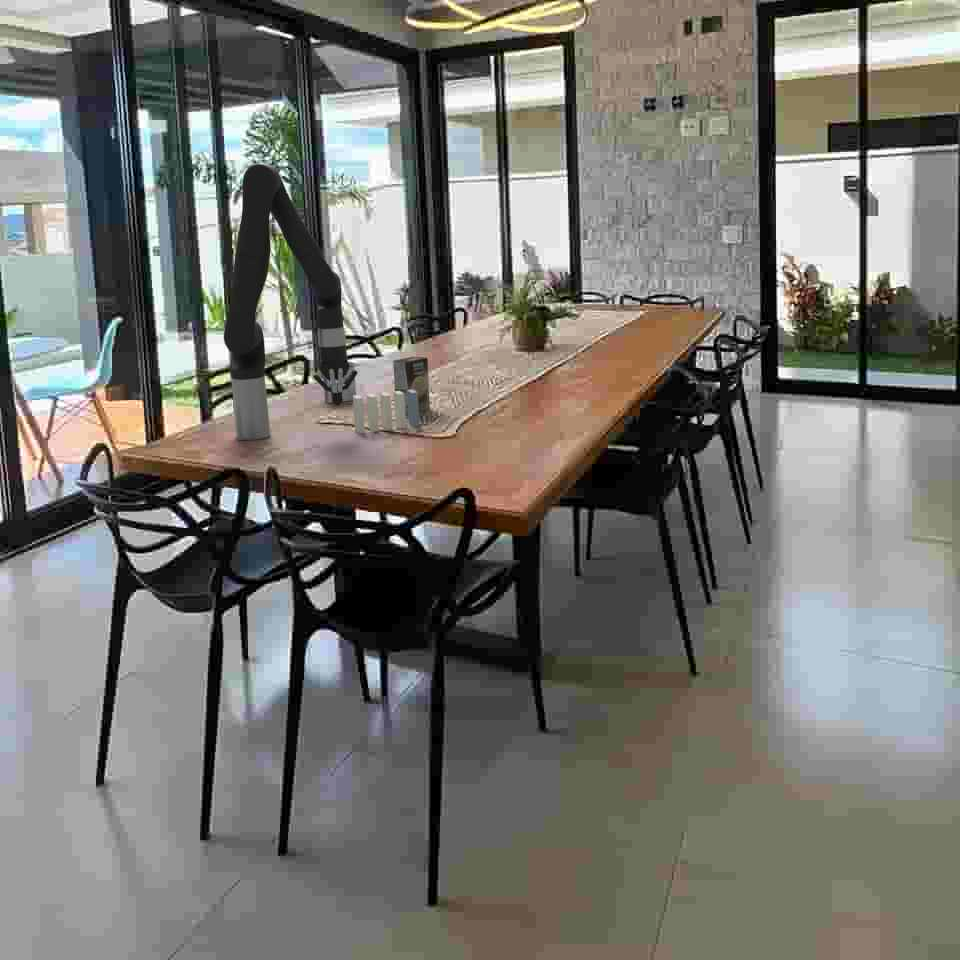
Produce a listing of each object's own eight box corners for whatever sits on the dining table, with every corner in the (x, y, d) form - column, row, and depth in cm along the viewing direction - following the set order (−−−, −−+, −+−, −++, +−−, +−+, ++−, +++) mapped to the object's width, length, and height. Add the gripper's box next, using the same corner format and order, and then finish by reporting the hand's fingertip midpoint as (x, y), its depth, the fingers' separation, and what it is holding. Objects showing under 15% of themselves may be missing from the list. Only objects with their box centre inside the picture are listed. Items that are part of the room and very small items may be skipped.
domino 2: (372, 431, 311) (370, 397, 309) (368, 428, 316) (366, 394, 313) (378, 431, 312) (376, 396, 309) (375, 427, 316) (372, 393, 314)
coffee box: (410, 414, 332) (407, 362, 327) (395, 412, 336) (392, 360, 331) (430, 409, 339) (428, 357, 334) (415, 407, 343) (412, 356, 338)
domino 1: (358, 433, 310) (356, 398, 307) (355, 429, 315) (352, 395, 312) (365, 432, 311) (362, 398, 308) (361, 429, 315) (358, 395, 313)
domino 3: (386, 430, 312) (384, 395, 310) (382, 426, 317) (380, 392, 314) (392, 429, 313) (390, 395, 310) (388, 426, 318) (386, 392, 315)
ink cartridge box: (352, 397, 362) (349, 353, 358) (357, 400, 357) (354, 356, 354) (323, 401, 358) (320, 357, 354) (328, 403, 354) (325, 359, 350)
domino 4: (400, 428, 314) (397, 394, 311) (395, 425, 318) (393, 391, 316) (406, 428, 314) (404, 393, 311) (401, 424, 319) (399, 390, 316)
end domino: (415, 423, 320) (413, 389, 317) (419, 426, 315) (417, 392, 313) (409, 423, 319) (407, 390, 317) (413, 427, 315) (411, 392, 312)
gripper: (310, 347, 299) (316, 410, 303) (358, 343, 302) (363, 404, 307) (306, 344, 306) (312, 405, 310) (352, 339, 309) (357, 400, 314)
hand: (337, 404), depth 309 cm, fingers closed
